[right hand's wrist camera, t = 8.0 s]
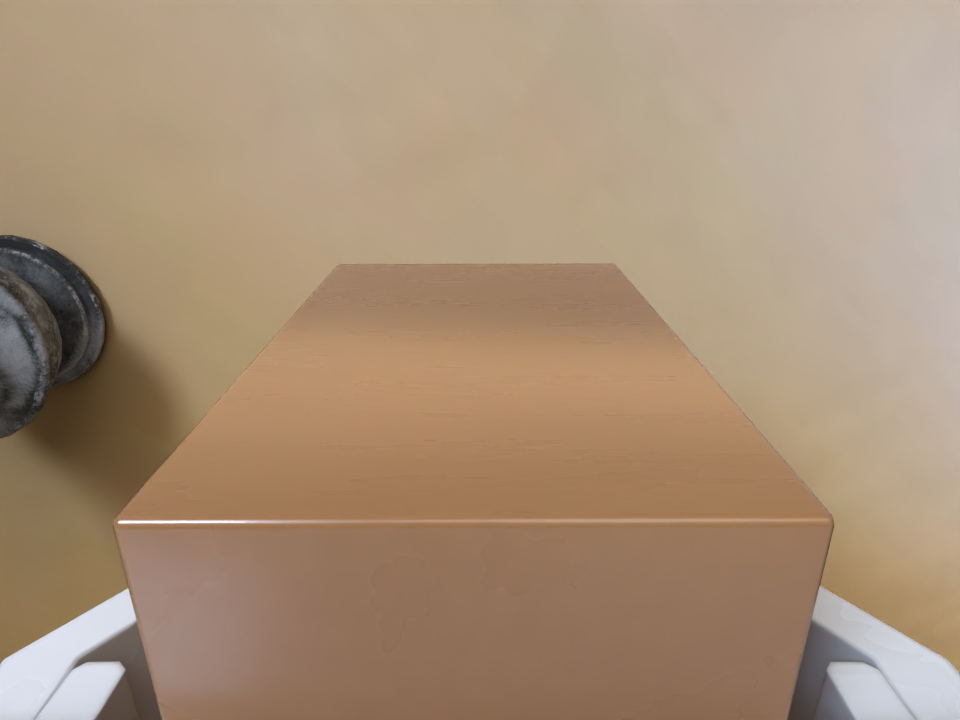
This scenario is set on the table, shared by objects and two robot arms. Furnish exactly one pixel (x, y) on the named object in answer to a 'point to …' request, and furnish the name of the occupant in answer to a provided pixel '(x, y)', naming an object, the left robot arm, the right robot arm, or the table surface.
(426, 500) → the bar
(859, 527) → the table surface
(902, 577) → the table surface
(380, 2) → the table surface
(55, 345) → the dark grey chess piece
